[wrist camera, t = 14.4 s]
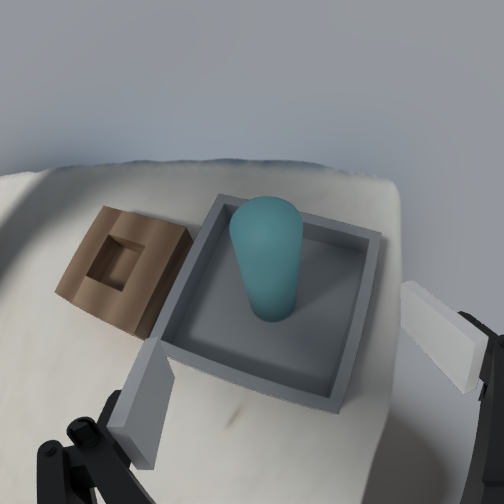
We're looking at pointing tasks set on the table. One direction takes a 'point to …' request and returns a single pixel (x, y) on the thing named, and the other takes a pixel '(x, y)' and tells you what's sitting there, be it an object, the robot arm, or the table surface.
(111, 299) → the hole block
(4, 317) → the table surface
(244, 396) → the table surface
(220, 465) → the table surface
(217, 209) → the tray
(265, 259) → the ball
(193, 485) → the table surface
